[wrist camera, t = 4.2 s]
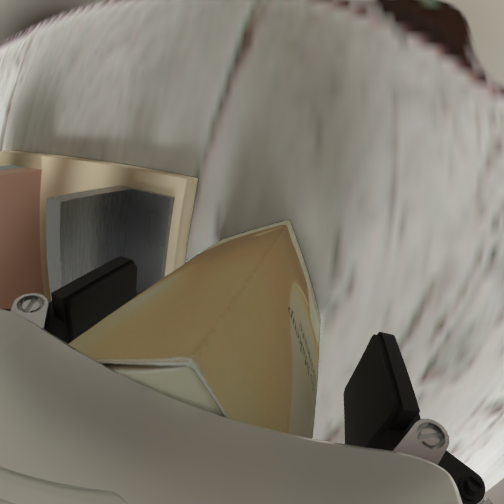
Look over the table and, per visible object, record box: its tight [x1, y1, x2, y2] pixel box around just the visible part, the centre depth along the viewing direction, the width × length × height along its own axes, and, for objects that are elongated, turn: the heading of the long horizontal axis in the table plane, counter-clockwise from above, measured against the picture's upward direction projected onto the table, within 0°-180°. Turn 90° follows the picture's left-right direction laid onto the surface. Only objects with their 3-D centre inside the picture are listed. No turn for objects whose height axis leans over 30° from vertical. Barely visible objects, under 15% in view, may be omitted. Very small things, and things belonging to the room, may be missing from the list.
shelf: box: [0, 151, 198, 302], centre depth 14 cm, size 20×13×10 cm, turn 78°
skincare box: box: [69, 220, 320, 438], centre depth 10 cm, size 6×4×12 cm
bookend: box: [46, 185, 175, 301], centre depth 13 cm, size 4×10×6 cm, turn 168°
